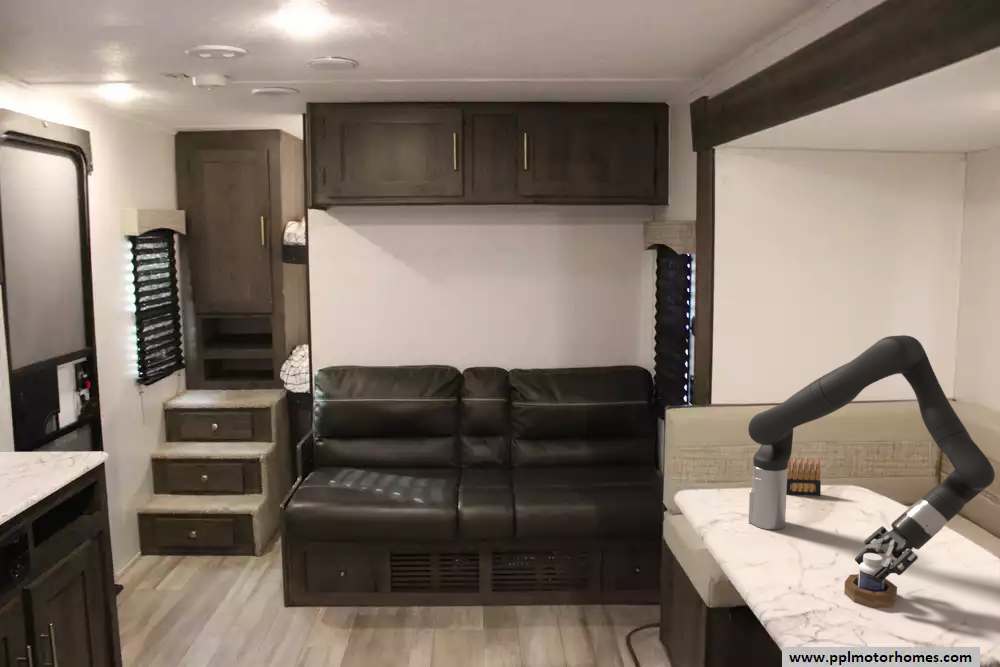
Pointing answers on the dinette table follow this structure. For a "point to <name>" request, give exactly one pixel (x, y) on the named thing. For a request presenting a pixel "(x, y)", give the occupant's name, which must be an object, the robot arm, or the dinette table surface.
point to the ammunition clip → (804, 478)
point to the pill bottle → (870, 573)
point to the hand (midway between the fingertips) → (865, 571)
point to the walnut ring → (870, 593)
